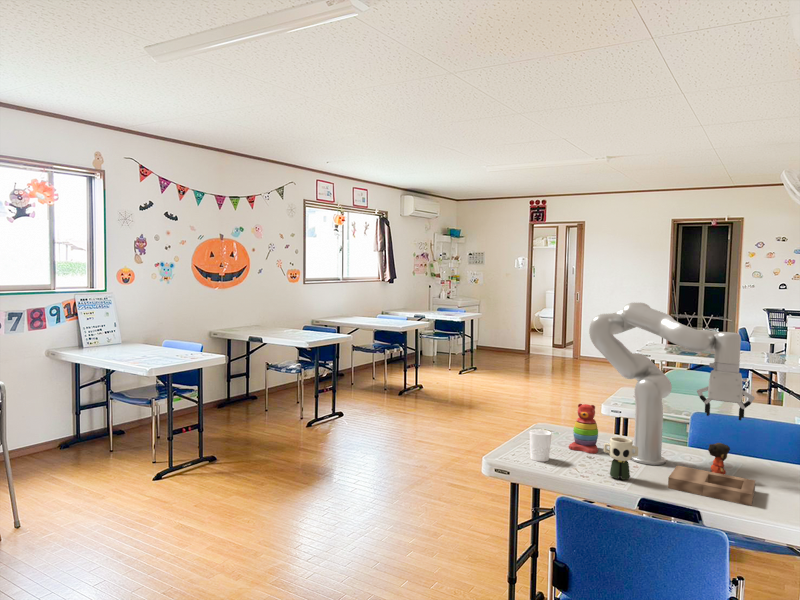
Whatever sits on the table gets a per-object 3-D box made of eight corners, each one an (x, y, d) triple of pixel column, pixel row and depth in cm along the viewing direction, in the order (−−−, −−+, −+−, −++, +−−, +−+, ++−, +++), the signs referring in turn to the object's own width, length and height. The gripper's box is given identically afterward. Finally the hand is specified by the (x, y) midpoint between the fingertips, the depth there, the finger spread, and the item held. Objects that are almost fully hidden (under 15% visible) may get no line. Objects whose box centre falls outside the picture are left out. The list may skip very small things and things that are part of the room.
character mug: (602, 478, 190) (604, 440, 190) (602, 472, 197) (603, 435, 197) (637, 483, 187) (639, 444, 186) (636, 476, 194) (637, 438, 193)
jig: (667, 488, 183) (668, 477, 183) (676, 475, 196) (677, 465, 196) (751, 506, 170) (752, 494, 170) (754, 491, 183) (755, 480, 183)
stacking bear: (567, 449, 224) (568, 404, 224) (575, 443, 233) (577, 400, 232) (594, 454, 218) (596, 408, 218) (602, 448, 227) (604, 404, 226)
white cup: (526, 460, 208) (528, 433, 208) (530, 454, 215) (531, 428, 215) (549, 463, 205) (550, 436, 205) (551, 457, 212) (552, 431, 212)
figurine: (720, 481, 191) (722, 446, 191) (704, 476, 196) (706, 442, 196) (732, 479, 194) (733, 444, 194) (716, 474, 199) (718, 440, 199)
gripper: (696, 366, 197) (694, 415, 198) (755, 372, 187) (752, 423, 188) (699, 364, 203) (697, 411, 204) (756, 369, 194) (753, 419, 194)
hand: (723, 417), depth 196 cm, fingers open, 9 cm apart
